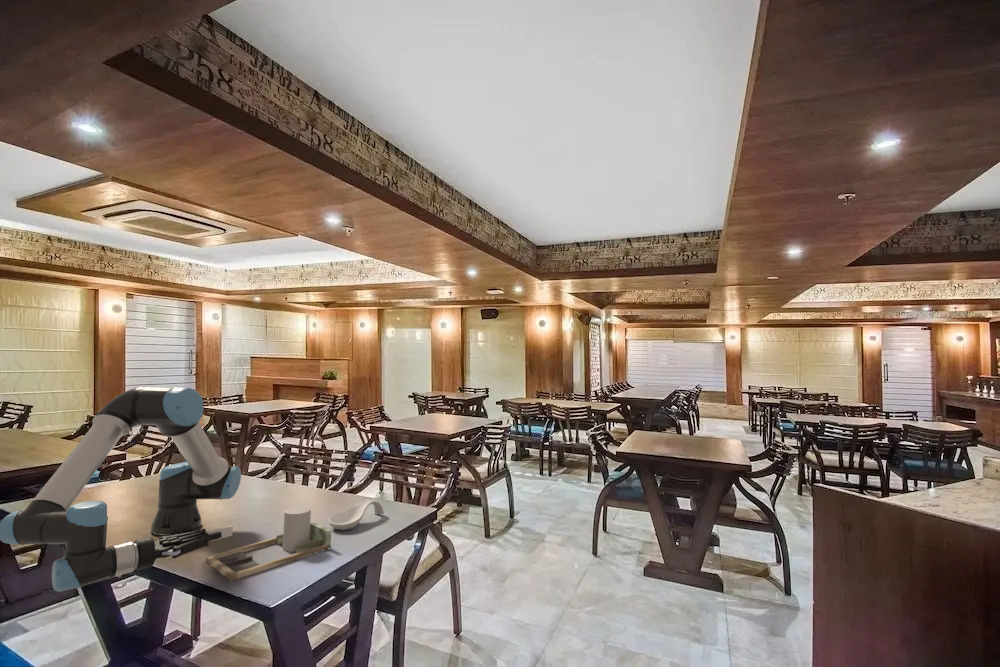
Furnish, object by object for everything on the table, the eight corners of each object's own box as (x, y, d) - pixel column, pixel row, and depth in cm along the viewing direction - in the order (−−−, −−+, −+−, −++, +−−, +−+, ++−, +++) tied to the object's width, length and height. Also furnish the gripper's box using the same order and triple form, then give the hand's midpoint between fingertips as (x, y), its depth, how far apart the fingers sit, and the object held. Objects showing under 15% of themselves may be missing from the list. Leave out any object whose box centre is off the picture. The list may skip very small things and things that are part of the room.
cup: (302, 540, 162) (304, 504, 163) (313, 546, 157) (315, 510, 157) (278, 546, 156) (280, 510, 157) (289, 554, 151) (290, 515, 152)
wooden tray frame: (205, 561, 144) (206, 541, 144) (301, 534, 168) (302, 517, 168) (231, 581, 132) (232, 559, 132) (330, 548, 156) (331, 530, 156)
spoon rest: (344, 536, 167) (344, 515, 168) (321, 529, 173) (322, 510, 173) (390, 517, 188) (390, 499, 188) (368, 512, 194) (369, 494, 194)
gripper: (126, 563, 127) (222, 537, 145) (140, 578, 118) (240, 549, 137) (127, 534, 127) (223, 512, 145) (141, 548, 119) (241, 522, 137)
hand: (231, 530), depth 141 cm, fingers closed
